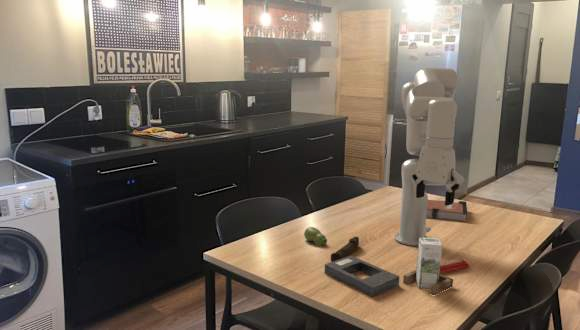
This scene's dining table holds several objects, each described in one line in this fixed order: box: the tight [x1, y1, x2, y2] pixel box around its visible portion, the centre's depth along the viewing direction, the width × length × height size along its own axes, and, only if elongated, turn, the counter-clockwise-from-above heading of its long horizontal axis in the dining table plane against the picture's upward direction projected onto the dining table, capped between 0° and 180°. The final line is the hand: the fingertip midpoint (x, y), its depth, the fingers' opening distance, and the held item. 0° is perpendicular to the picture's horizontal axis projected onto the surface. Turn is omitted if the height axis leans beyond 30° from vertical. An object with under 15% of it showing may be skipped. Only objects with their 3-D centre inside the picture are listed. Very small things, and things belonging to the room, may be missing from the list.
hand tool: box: [330, 236, 360, 262], centre depth 166 cm, size 19×4×5 cm, turn 146°
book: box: [426, 199, 468, 223], centre depth 215 cm, size 26×18×5 cm
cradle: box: [402, 269, 454, 296], centre depth 144 cm, size 10×11×2 cm
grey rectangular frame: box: [324, 255, 400, 298], centre depth 147 cm, size 12×20×3 cm, turn 40°
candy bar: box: [439, 258, 471, 275], centre depth 155 cm, size 16×4×3 cm, turn 114°
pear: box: [303, 226, 328, 247], centre depth 177 cm, size 6×5×10 cm
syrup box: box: [415, 237, 443, 290], centre depth 143 cm, size 6×6×14 cm
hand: (434, 200), depth 138 cm, fingers open, 9 cm apart
